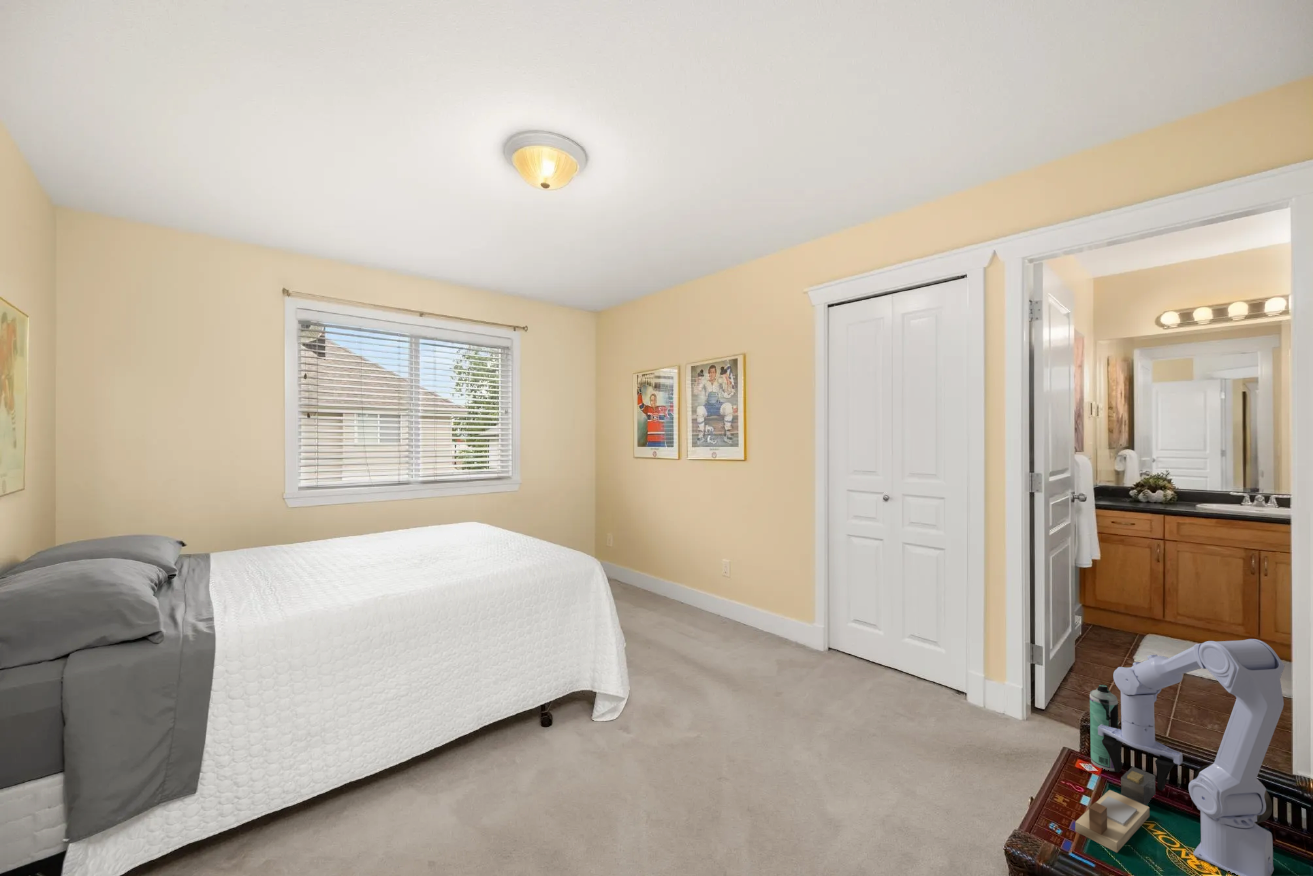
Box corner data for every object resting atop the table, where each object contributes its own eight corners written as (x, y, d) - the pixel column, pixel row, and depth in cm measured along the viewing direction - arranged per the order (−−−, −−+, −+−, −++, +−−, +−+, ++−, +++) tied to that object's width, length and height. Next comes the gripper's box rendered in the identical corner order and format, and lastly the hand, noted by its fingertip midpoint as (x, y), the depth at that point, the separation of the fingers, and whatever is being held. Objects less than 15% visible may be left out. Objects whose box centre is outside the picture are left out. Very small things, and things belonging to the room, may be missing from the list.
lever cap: (1155, 797, 124) (1154, 772, 124) (1144, 809, 120) (1143, 783, 120) (1133, 787, 127) (1132, 763, 127) (1121, 799, 123) (1120, 774, 123)
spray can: (1124, 772, 132) (1123, 691, 132) (1098, 770, 134) (1097, 690, 133) (1110, 759, 138) (1109, 681, 138) (1086, 757, 139) (1084, 679, 139)
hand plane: (1149, 816, 118) (1148, 786, 118) (1116, 852, 108) (1116, 820, 108) (1109, 798, 124) (1109, 770, 124) (1075, 831, 114) (1074, 800, 114)
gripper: (1186, 729, 120) (1188, 790, 120) (1105, 702, 132) (1107, 757, 132) (1175, 739, 116) (1177, 802, 116) (1093, 711, 128) (1095, 768, 128)
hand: (1139, 779), depth 124 cm, fingers open, 7 cm apart
